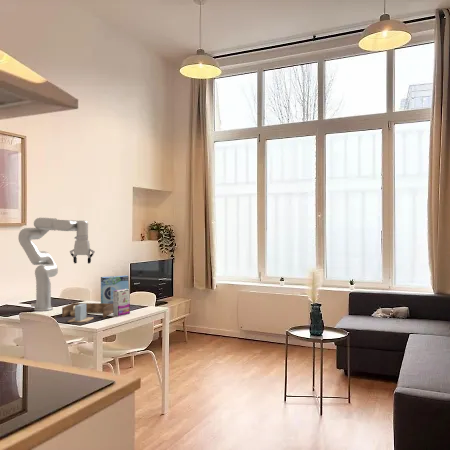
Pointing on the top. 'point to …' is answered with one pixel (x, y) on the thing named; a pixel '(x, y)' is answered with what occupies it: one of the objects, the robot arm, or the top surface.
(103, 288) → the blue cardboard box
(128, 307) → the candy bar box
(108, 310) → the rack
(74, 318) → the mat
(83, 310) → the pale blue block
